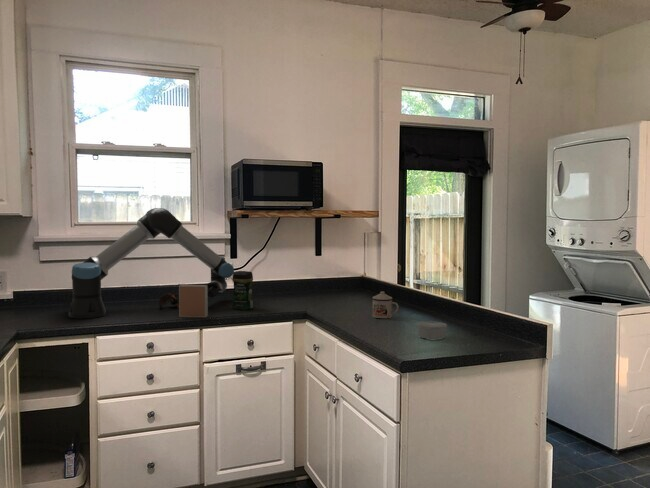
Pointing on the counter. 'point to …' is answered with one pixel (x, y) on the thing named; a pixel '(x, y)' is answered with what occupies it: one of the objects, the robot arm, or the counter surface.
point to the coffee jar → (242, 290)
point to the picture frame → (193, 301)
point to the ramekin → (431, 329)
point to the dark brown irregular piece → (169, 298)
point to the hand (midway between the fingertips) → (199, 296)
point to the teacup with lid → (383, 306)
